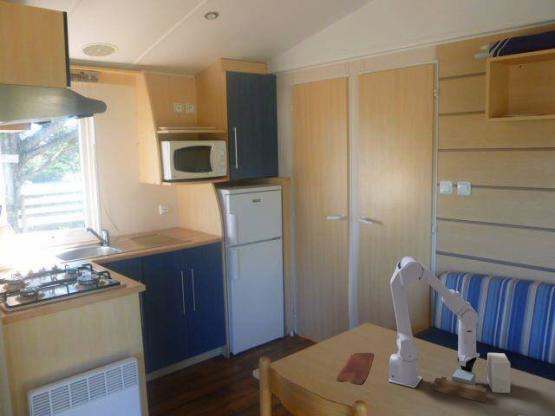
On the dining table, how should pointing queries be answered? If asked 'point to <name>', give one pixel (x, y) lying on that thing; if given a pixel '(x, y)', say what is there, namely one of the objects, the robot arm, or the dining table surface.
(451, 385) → the rail
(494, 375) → the small box
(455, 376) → the block
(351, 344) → the dining table surface
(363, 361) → the wooden tablet
